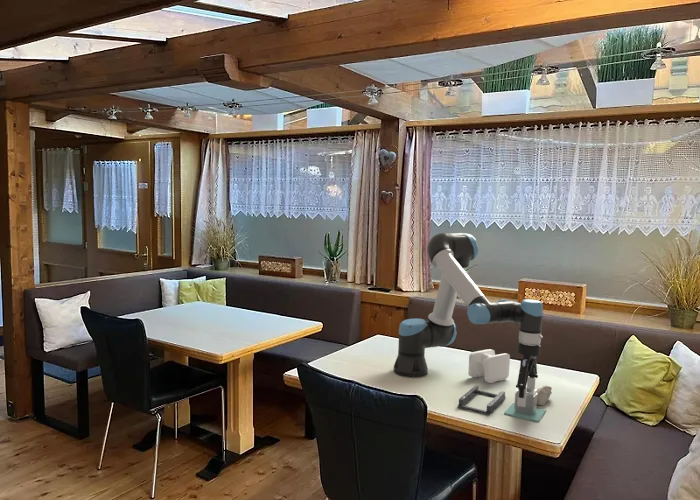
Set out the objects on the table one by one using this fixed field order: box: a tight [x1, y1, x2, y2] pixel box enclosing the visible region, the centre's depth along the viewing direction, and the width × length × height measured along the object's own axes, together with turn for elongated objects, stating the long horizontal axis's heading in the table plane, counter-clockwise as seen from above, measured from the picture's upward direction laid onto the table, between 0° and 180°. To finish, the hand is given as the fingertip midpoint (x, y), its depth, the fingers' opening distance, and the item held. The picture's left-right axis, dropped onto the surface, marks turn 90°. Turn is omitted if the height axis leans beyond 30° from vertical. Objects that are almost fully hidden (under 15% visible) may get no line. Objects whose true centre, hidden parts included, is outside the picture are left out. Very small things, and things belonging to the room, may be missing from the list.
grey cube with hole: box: [514, 387, 538, 416], centre depth 192 cm, size 7×6×8 cm
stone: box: [535, 385, 553, 406], centre depth 204 cm, size 8×12×10 cm, turn 132°
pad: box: [503, 402, 547, 423], centre depth 192 cm, size 12×12×1 cm
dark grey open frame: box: [457, 385, 507, 416], centre depth 201 cm, size 12×20×3 cm, turn 148°
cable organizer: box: [468, 348, 511, 384], centre depth 229 cm, size 15×11×12 cm
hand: (526, 400), depth 192 cm, fingers open, 13 cm apart
